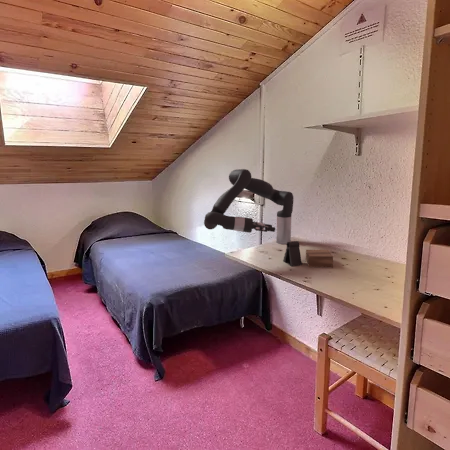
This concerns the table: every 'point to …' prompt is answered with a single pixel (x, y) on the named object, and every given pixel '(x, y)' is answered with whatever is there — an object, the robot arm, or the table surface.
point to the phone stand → (292, 254)
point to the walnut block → (319, 258)
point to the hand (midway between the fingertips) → (273, 228)
